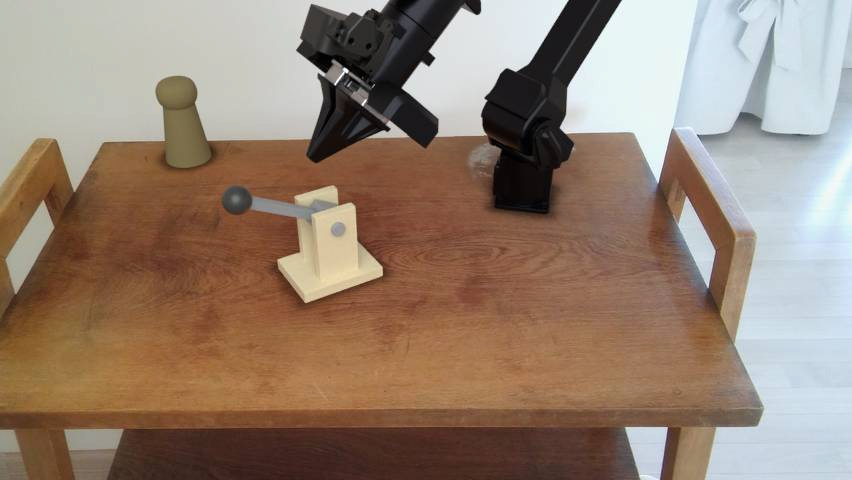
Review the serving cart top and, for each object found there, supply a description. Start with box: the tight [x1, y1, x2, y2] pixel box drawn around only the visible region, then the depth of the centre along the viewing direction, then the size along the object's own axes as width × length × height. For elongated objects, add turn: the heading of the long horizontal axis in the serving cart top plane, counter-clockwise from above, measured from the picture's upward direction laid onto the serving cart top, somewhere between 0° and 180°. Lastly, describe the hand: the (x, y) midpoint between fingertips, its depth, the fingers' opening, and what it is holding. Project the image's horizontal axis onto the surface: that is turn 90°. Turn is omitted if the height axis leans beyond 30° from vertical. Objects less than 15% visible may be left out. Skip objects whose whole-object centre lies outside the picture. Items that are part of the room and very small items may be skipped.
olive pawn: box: [154, 75, 212, 169], centre depth 100 cm, size 6×6×11 cm
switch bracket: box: [276, 184, 384, 304], centre depth 79 cm, size 9×7×9 cm
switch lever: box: [221, 184, 339, 226], centre depth 74 cm, size 13×3×3 cm, turn 119°
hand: (310, 159), depth 73 cm, fingers closed
